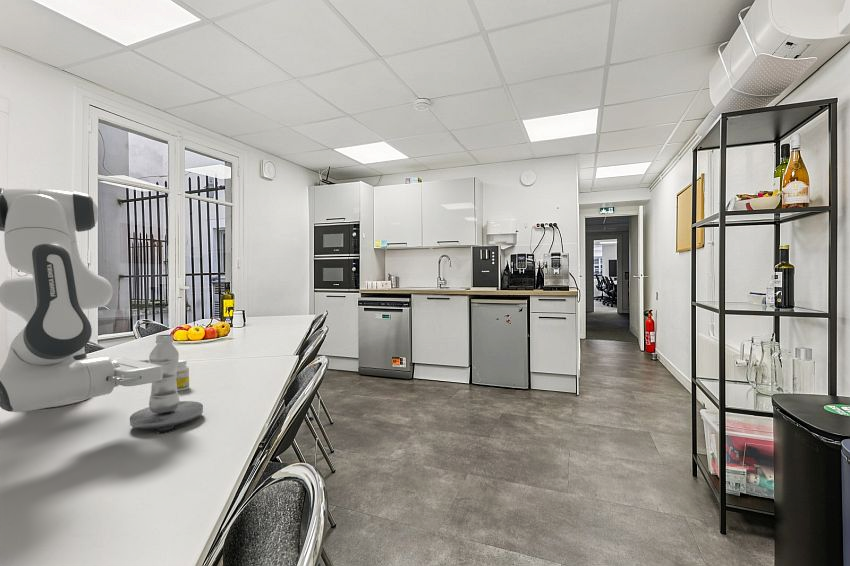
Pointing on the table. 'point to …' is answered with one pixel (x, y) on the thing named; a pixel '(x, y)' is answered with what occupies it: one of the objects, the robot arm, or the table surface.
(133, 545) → the table surface
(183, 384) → the supplement bottle
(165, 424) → the base
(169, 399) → the plastic bottle
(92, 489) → the table surface
